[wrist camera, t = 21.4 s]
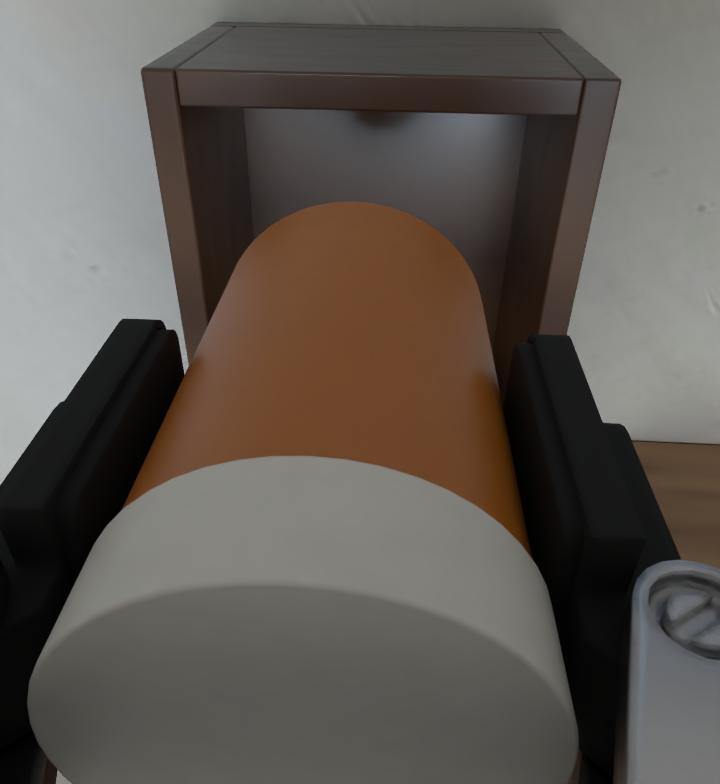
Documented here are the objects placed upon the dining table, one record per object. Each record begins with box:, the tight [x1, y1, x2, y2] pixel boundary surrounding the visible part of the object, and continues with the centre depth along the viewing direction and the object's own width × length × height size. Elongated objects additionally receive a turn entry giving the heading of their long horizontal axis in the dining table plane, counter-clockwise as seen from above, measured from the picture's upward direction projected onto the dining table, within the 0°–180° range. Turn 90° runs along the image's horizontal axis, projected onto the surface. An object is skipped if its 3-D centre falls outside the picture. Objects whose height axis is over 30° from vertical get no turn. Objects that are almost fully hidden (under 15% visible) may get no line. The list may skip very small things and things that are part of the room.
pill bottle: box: [27, 201, 579, 784], centre depth 10 cm, size 5×5×8 cm
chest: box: [141, 22, 621, 406], centre depth 22 cm, size 13×11×7 cm
